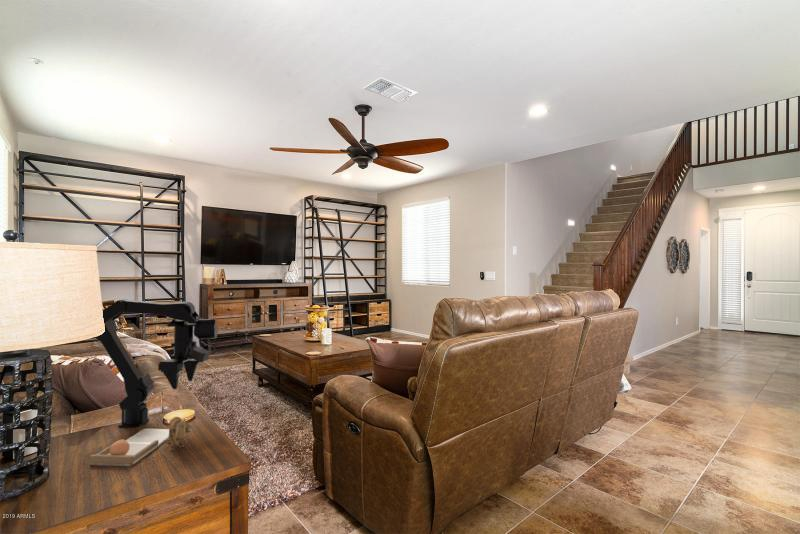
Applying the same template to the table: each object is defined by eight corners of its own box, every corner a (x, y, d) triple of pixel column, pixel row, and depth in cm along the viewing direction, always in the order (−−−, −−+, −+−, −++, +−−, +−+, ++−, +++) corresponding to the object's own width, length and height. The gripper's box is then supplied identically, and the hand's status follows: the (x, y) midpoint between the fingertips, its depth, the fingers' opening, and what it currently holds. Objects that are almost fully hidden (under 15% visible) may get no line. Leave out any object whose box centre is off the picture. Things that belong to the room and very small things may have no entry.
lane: (89, 464, 106) (89, 455, 106) (144, 430, 128) (144, 422, 128) (130, 466, 105) (130, 457, 105) (178, 431, 127) (178, 423, 127)
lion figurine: (193, 451, 115) (194, 420, 114) (172, 456, 111) (174, 425, 111) (178, 431, 126) (179, 403, 125) (159, 436, 122) (160, 407, 121)
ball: (103, 455, 106) (110, 437, 109) (112, 458, 110) (120, 441, 112) (119, 456, 106) (126, 438, 108) (128, 459, 109) (135, 442, 112)
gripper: (192, 345, 127) (191, 394, 127) (220, 334, 145) (219, 377, 145) (157, 344, 127) (156, 393, 127) (189, 334, 146) (189, 376, 146)
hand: (182, 384), depth 136 cm, fingers open, 9 cm apart
